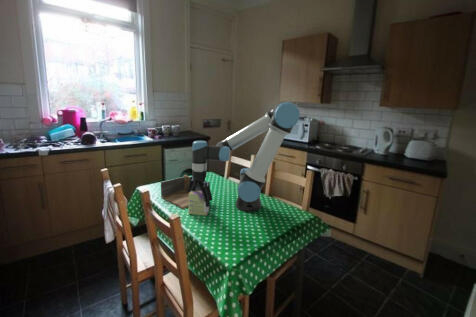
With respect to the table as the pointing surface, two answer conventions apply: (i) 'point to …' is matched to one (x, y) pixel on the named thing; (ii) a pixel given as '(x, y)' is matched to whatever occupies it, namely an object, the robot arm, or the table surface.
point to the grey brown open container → (177, 191)
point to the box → (196, 203)
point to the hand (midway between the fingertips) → (199, 208)
